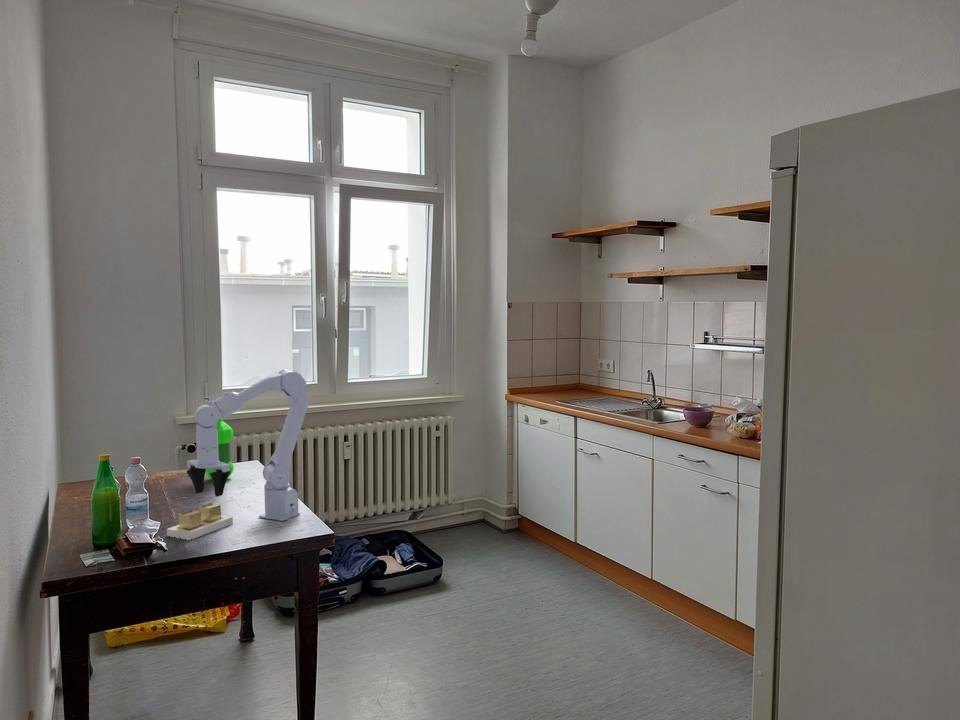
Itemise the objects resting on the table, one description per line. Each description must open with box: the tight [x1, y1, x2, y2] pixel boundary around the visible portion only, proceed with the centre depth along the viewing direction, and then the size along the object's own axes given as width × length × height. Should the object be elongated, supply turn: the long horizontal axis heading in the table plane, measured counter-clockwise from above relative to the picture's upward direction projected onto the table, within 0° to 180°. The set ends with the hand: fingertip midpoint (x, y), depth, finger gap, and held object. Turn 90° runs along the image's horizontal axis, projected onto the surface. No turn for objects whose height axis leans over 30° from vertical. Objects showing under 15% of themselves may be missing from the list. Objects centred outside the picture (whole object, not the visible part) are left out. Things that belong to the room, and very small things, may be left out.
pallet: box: [166, 514, 234, 541], centre depth 191 cm, size 8×16×2 cm, turn 155°
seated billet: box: [178, 509, 201, 531], centre depth 188 cm, size 4×4×6 cm
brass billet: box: [198, 502, 222, 523], centre depth 194 cm, size 4×4×6 cm
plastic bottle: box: [205, 419, 235, 480], centre depth 246 cm, size 10×10×25 cm
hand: (209, 494), depth 194 cm, fingers open, 7 cm apart
